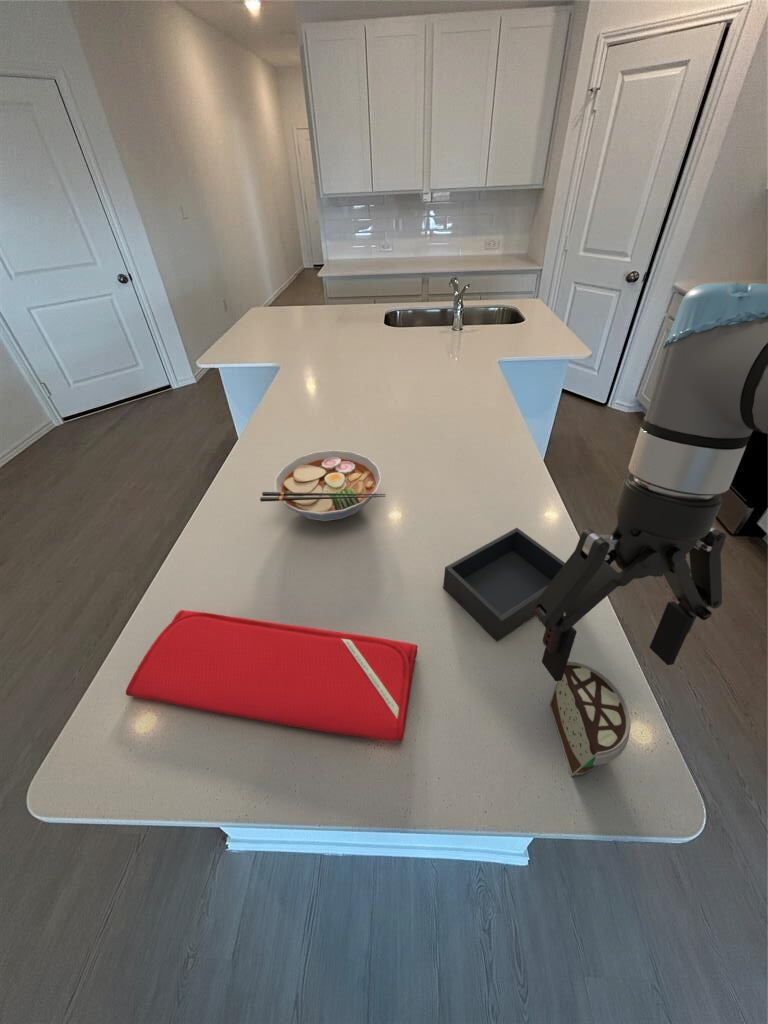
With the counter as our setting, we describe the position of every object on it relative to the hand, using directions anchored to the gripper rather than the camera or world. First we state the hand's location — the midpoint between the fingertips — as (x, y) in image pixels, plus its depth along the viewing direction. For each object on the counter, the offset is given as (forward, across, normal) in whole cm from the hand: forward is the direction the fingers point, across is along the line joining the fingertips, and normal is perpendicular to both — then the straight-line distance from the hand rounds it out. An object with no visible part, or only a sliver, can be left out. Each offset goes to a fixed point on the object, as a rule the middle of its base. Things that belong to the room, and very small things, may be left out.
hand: (607, 663), depth 48 cm
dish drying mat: (+18, +36, -22) cm, 46 cm away
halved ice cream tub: (+18, -4, -3) cm, 18 cm away
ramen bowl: (+8, +24, -60) cm, 65 cm away
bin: (+12, -4, -29) cm, 31 cm away
